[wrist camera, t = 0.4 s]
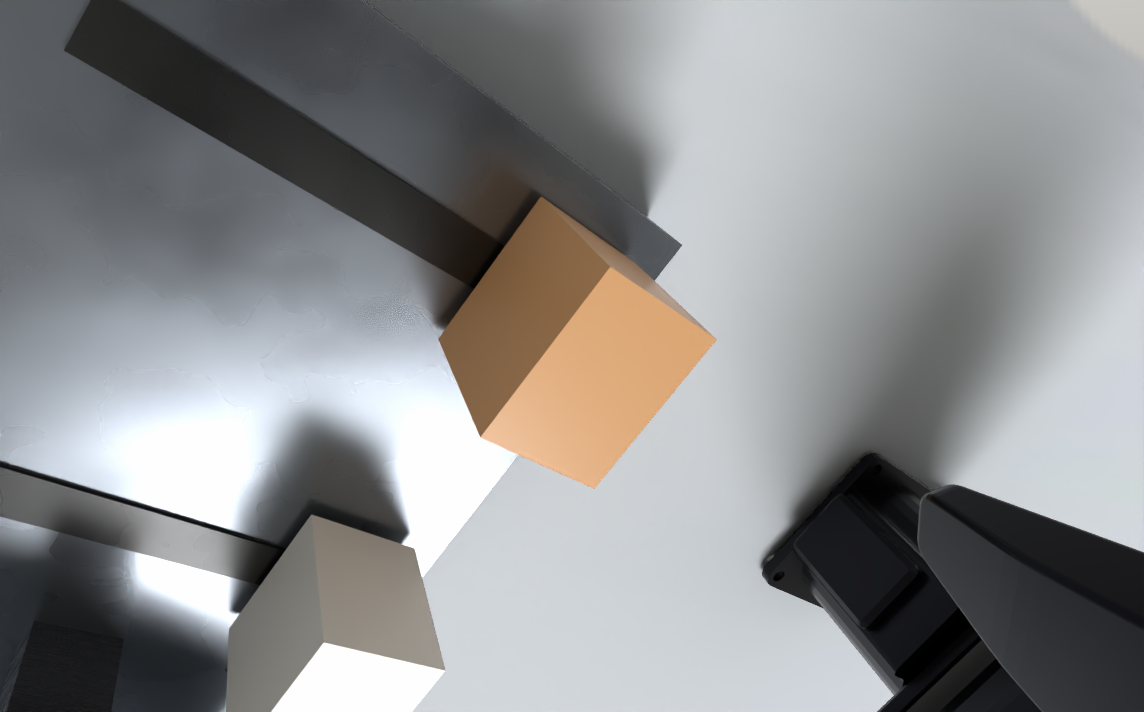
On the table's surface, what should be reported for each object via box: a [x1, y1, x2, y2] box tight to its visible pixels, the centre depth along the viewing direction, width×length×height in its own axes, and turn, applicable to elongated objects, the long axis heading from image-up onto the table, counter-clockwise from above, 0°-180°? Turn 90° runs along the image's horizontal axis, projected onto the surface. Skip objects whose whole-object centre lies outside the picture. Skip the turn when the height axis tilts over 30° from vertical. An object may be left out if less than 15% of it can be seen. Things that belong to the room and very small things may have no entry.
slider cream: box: [226, 514, 445, 712], centre depth 18 cm, size 3×4×4 cm
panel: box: [0, 0, 682, 712], centre depth 17 cm, size 14×24×7 cm, turn 140°
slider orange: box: [438, 197, 717, 489], centre depth 16 cm, size 3×4×4 cm
